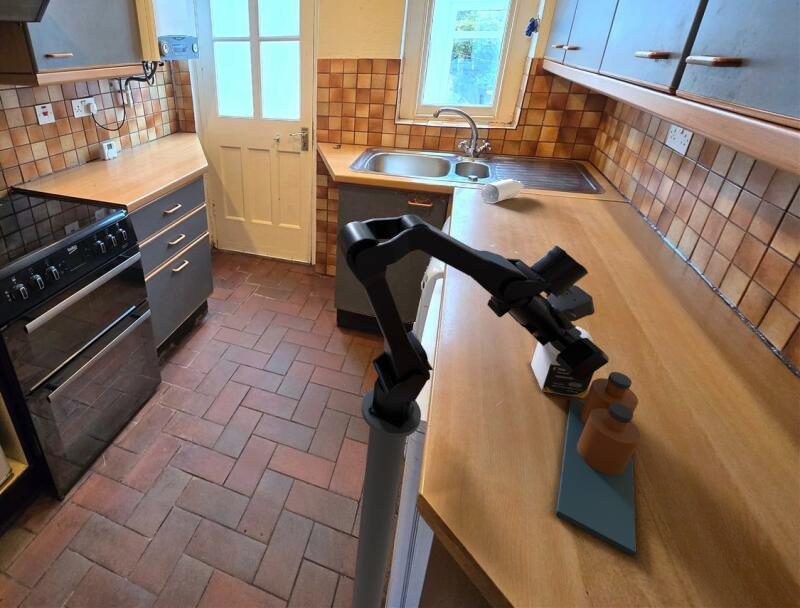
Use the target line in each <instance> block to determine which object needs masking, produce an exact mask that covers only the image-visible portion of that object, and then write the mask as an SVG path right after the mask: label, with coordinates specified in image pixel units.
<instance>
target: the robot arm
mask: <svg viewBox="0 0 800 608" xmlns="http://www.w3.org/2000/svg"><path fill="white" fill-rule="evenodd" d="M380 240H388V241H385V242H384V241H383V242H380ZM336 242H337V243H336V244H337V246H338V248H339V250H340V253H341V255H342V257H343V259H344V261H345V264H346V265H347V267H348V269H349V270H350V271H351V273H352V275H353V276H354V277H355V278H356V280H357V282H359V283H360V285H361V286H362V287H363V290H364V292H365V295H366V297H367V298H368V301H369V305H370V306H371V309H372V312H373V313H374V316H375V318H376V321H377V323H378V325H379V328H380V330H381V333H382V335H383V338H384V340H383V348H384V351H383V352H382V353H380V354H379V355H377V356H376V358H374V359H373V360H372V365H373V367H374V370H375V373H376V374H377V378H376V379H375V380H374V382H373V388H374V393H373V402H372V404H371V405H370V407H369V409H368V411H369V412H370V413H371V414H373V415H375V416H377V417H379V418H381V419H383V420H384V421H386V422H388V423H390V424H392V425H394V426H396V427H398V428H402V426H403V424H404V422H405V420H408V419H409V417H410V415H411V414H412V412H413V407H414V401H415V400H416V401H417V399H418V397H419V395H420V394H421V392H422V391H423V389H424V388H425V385H426V384H427V383H428V381H430V380H431V371H434V369H433V366H432V365H431V363H430V362H429V358H428V354H427V353H428V352H427V351H426V350H425V348H424V346H423V345H422V342H421V341H420V339H419V338H418V337H417V334H416V333H415V331H414V330H411V331H409V332H407V331H406V328H405V325H404V322H403V320H402V317H401V314H400V311H399V309H398V307H397V304H396V301H395V299H394V296H393V293H392V291H391V289H390V286H389V283H388V281H387V280H388V279H387V275H388V266H390V265H393V264H395V263H398V262H399V261H400V260H402V259H403V258H404V257H406V256H407V255H408V254H410V253H412V252H415V251H418V250H419V251H420V252H423V254H426V255H428V256H430V257H432V258H434V259H436V260H437V261H439V262H441V263H444V264H446V265H447V266H450V267H451V268H453V269H455V270H457V271H459V272H460V273H463V274H465V275H466V276H469V277H470V278H471V279H473V281H475V282H476V283H477V284H478V285H480V286H481V288H482V289H484V290H485V291H486V292H487V293H489V294H490V298H489V300H488V301H487V303H486V304H487V307H488V308H489V309H490V310H491V311H492V312H493V313H494V314H495V315H496V317H498V318H502V317H503V316H505V315H506V314H508V315H510V317H511V318H513V319H514V320H515V321H516V322H517V323H518V324H519V325H520V326H521V327H522V328H524V329H525V330H526V331H527V332H528V333H529V334H530V335H531V336H532V337H533V338H534V339H535V340H536V341H537V343H538V342H539V343H540V344H541V345H542V346H544V345H546V344H547V343H548V342H555V341H558V342H559V343H560V344H561V345H562V346H563V347H564V348H566V349H564V350H563V351H562V352H560V353H559V354H558V355H557V357H556V360H555V361H556V362H557V363H558V364H559V365H560V366H561V367H562V368H563V369H564V370H565V371H566V372H567V373H568V374H569V375H570V376H571V377H572V378H573V379H574V380H575V381H582V380H583V379H585V378H586V377H588V376H589V375H591V374H592V373H595V372H597V371H598V370H600V369H601V368H602V367H603V366H606V365H607V364H608V363H609V356H608V355H607V354H606V353H605V351H604V350H602V349H601V348H600V347H599V346H597V344H595V343H594V342H593V340H592V341H590V340H589V339H588V338H580V339H578V340H576V339H575V338H574V337H573V336H572V335H571V334H569V333H568V332H567V331H566V330H568V331H569V330H571V329H572V328H573V327H575V326H576V325H575V326H574V324H573V322H576V321H578V320H581V319H583V318H585V317H589V316H591V315H594V314H595V312H596V310H595V304H594V299H593V296H591V295H590V294H589V293H588V292H586V291H585V290H583V289H582V288H581V287H580V286H578V285H575V284H576V283H578V282H579V281H580V280H581V279H583V278H585V276H587V275H588V274H589V271H588V270H587V268H586V267H585V265H582V264H581V263H579V261H577V260H576V259H574V257H572V256H571V255H569V254H568V252H567V251H566V250H565V249H563V248H561V247H560V246H558V245H554V246H553V247H551V248H550V249H549V250H548V251H547V253H545V255H543V256H542V257H541V258H540V259H538V260H536V261H535V262H534V263H532V265H530V266H529V265H528V264H526V262H524V261H522V260H521V259H520V258H508V257H507V258H506V257H504V256H503V255H502V254H498V253H495V252H491V251H489V250H479V249H475V248H473V247H471V246H469V245H468V244H465V243H463V241H460V240H458V239H457V238H456V237H453V236H451V235H449V234H448V233H446V232H444V231H442V230H441V229H439V228H437V227H435V226H433V225H431V224H429V223H427V222H426V221H424V220H423V219H422V218H421V217H420V216H418V215H416V214H404V215H400V216H397V217H385V218H371V219H368V220H365V221H353V222H349V223H347V224H345V225H343V227H341V229H340V230H339V232H338V233H337V235H336ZM542 293H545V294H546V295H545V296H544V295H542ZM562 336H564V337H565V338H566V339H567V340H568V341H569V342H570V343H571V344H570V343H568V342H567V341H566V340H565V339H564V338H563V337H562Z"/></svg>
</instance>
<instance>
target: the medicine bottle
mask: <svg viewBox="0 0 800 608" xmlns="http://www.w3.org/2000/svg"><path fill="white" fill-rule="evenodd" d="M573 325H574V324H573ZM574 326H575V327H573V328H572V329H571V330H569V331H568V330H566V331H567V332H568V333H569V334H571V335H572V336H573V337H574V338H575V339H576V340H578V339H580V338H588V339H589V340H590V341H592V342H593V338H592V336H591V334H590V333H589V332H588V331H587V330H585V329H584V328H583V327H580V326H577V325H574ZM562 337H563V338H564V339H565V340H566V341H567V342H568V343H570V342H569V341H568V340H567V339H566V338H565V337H564V336H562ZM570 344H571V343H570ZM564 349H566V348H564V347H563V346H562V345H561V344H560V343H559V342H558V341H555V342H548V343H547V344H546V345H544V346H542V345H541V344H540V343H539V342H538V341H537V344H536V346H535V350H534V354H533V358H532V360H531V364H530V366H531V369H532V371H533V374H534V376H535V378H536V381H537V384H538V385H539V387H540V390H541V392H543V393H551V394H555V395H562V396H563V395H564V396H569V397H574V398H581V399H583V398H586V396H587V395H586V394H587V393H588V390H589V388H590V384H591V383H592V379H593V376H594V373H595V372H594V373H592V374H591V375H589V376H588V377H586V378H585V379H583V380H582V381H575V380H574V379H573V378H572V377H571V376H570V375H569V374H568V373H567V372H566V371H565V370H564V369H563V368H562V367H561V366H560V365H559V364H558V363H557V362H556V361H555V360H556V357H557V355H558V354H559V353H560V352H562V351H563V350H564Z"/></svg>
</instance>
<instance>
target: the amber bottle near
mask: <svg viewBox="0 0 800 608" xmlns="http://www.w3.org/2000/svg"><path fill="white" fill-rule="evenodd" d="M633 418H634V413H632V411H631V410H630V409H629V408H627V407H626V406H624V405H622V404H619V403H611V404H609V407H608V409H603V408H598V409H594V410H593V411H591V413H590V415H589V418H588V420H587V422H586V425H585V427H584V430H583V432H582V435H581V437H580V439H579V442H578V444H577V450H578V453H579V455H580V456H581V458H582V459H583V460H584V461H585V462H586V463H587V464H588V465H590V466H591V467H592V468H594V469H595V470H597V471H599V472H602V473H604V474H608V475H619V474H622V473H623V471H624V470H625V468H626V466H627V464H628V462H629V460H630V458H631V456H632V457H633V454H634V452H635V449H636V448H637V446H638V444H639V441H640V440H641V432H640V430H639V428H638V426H636V424H635V423H634V422H633V421H632V420H633Z"/></svg>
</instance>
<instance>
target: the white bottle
mask: <svg viewBox="0 0 800 608" xmlns="http://www.w3.org/2000/svg"><path fill="white" fill-rule="evenodd" d="M524 188H525V185H524V184H523V182H522V181H520V180H519V181H518V180H516V179H512V178H510V179H505V180H499V181H497V182H495V181H494V182H490V183H486V184H483V186H482V187H481V190H480V195H481V198H482V200H483V201H484V202H485V203H487V204H495V203H498V202H502V201H504V200H509V199H514V198H515V197H517V196H518V195H519V194H520V193H521V192H522V191H523V190H524ZM491 196H492V197H491ZM483 198H485V199H483Z"/></svg>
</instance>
